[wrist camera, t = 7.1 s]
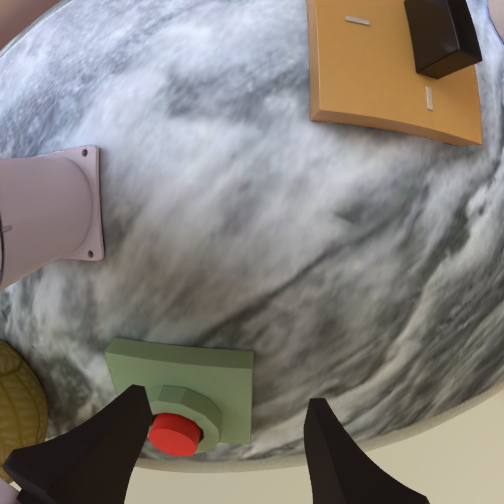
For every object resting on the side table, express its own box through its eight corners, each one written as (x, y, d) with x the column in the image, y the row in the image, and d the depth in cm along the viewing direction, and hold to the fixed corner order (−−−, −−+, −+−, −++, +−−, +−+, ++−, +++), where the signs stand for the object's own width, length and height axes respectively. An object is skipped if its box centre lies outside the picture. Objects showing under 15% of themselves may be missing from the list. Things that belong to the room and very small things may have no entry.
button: (159, 436, 19) (154, 451, 17) (150, 408, 18) (143, 424, 16) (202, 443, 18) (199, 459, 17) (198, 415, 17) (193, 433, 16)
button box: (137, 412, 23) (123, 441, 19) (115, 336, 20) (92, 365, 16) (251, 426, 22) (249, 460, 18) (253, 350, 20) (251, 387, 16)
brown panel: (309, 120, 15) (319, 109, 12) (305, -15, 12) (310, -40, 9) (460, 146, 15) (487, 146, 12) (444, 22, 12) (464, 8, 9)
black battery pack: (437, 80, 11) (486, 60, 7) (415, 73, 11) (462, 48, 7) (424, 9, 10) (460, -22, 5) (402, 1, 10) (436, -34, 5)
